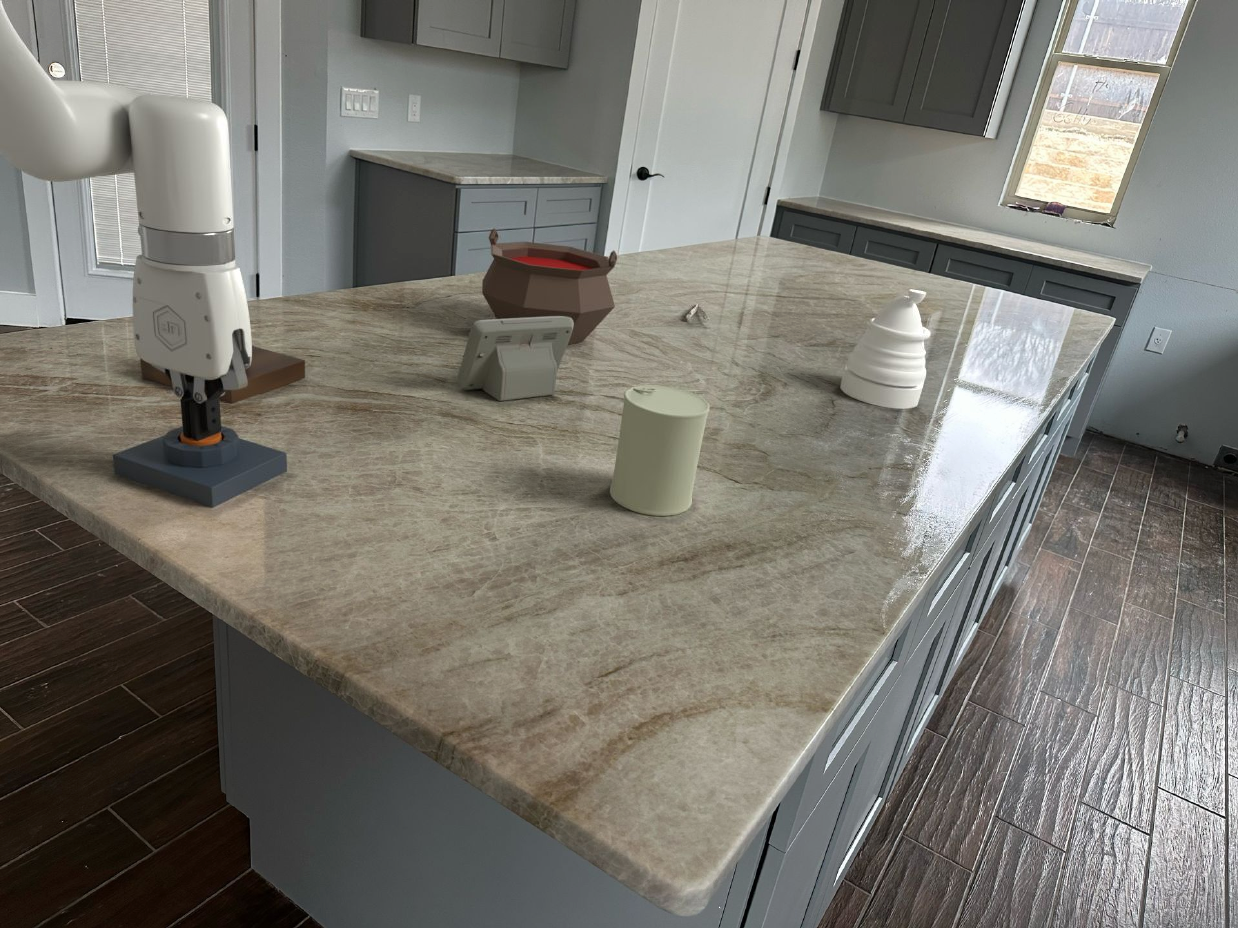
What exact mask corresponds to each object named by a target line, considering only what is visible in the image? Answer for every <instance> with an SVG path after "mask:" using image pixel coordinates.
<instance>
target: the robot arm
mask: <svg viewBox="0 0 1238 928" xmlns="http://www.w3.org/2000/svg"><path fill="white" fill-rule="evenodd" d="M230 149H231V148H230V133H229V121H228V118H227V115H226V113H225V112H224V110H223V109H222V108H221V107H220V106H219V105H217V104H216V103H213V102H211V101H209V100H208V101H207V100H204V99H201V98H200V99H199V98H194V97H186V96H179V95H170V94H169V95H168V94H151V93H147V92H143V91H141V90H136V89H133V88H129V87H126V86H123V85H119V84H114V83H109V82H104V81H103V82H101V81H82V80H68V79H67V80H65V79H64V80H61V79H57V80H56V79H52V78H51V77H50V76H49V74H48V73H47V72H46V71H45V70H44V68H43V67H42V65H41V64H40V63H39V62H38V60H37V58H35V56H34V55H33V54H32V52H31V51H30V50H29V48H28V47H27V46H26V44H25V43H24V41H23V40H22V38H21V37H20V35H19V34H18V32H17V30H16V29H15V28H14V26H13V24H12V22H11V20H10V18H9V17H8V14H7V13H6V10H5V7H4V5H3V2H2V0H0V156H2V157H3V158H4V159H5V160H6V161H7V162H8V163H10V165H12V166H14V167H15V168H16V169H18V170H19V171H21V172H23V173H24V174H26V175H28V176H30V177H33V178H35V179H38V180H41V181H47V182H52V183H53V182H54V183H57V182H58V183H62V182H63V183H64V182H72V181H79V180H84V179H91V178H98V177H109V176H116V175H117V176H118V175H123V174H133V176H134V188H135V197H136V207H137V219H138V227H137V233H138V235H139V239H140V248H141V249H140V250H141V254H139V255H137V256H136V258H135V264H134V268H133V269H134V270H133V279H132V329H133V340H134V341H133V342H134V347H135V352H136V355H137V356H138V358H139V359H142V360H144V361H146V362H148V363H150V364H151V365H152V366H153V367H155V368H157V369H158V370H160V371H162V372H164V373H166V375H167V376H168V377H169V379H170V380H171V382H172V385H173V387H172V389H173V393H174V395H175V396H176V397H177V398H179V400H180V412H181V423H182V424H181V425H182V426H183V435H184V436H185V437H187V438H191V437H192V438H193V439H194V440H197V441H199V440H202V439H205V438H207V437H210V436H212V435H215V434H217V433H220V431H221V426H222V418H221V417H222V416H221V415H222V414H221V401H220V399H219V397H221V396H223V395H224V394H225V391H226V390H238V389H241V388H243V387H246V386H247V385H248V380H247V376H246V372H245V369H247V368H249V367H250V364H251V359H252V346H253V342H252V328H251V320H250V319H251V318H250V311H249V306H248V305H249V304H248V298H247V294H246V289H245V284H244V280H243V276H242V272H241V269H240V266H238V265H236V246H235V228H234V226H235V225H234V209H233V208H234V206H233V190H232V189H233V187H232V171H231V169H232V167H231V153H230V152H231V150H230Z"/></svg>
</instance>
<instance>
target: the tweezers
mask: <svg viewBox="0 0 1238 928" xmlns="http://www.w3.org/2000/svg"><path fill="white" fill-rule="evenodd" d="M696 312H698V313H699V314H700V315H701V316H702V326H706V325H707V324H708V323H709V322H710V317H709V316H708V314H707V312H706V311H705V310H704V309H703V308H702V307H701V306H700V305H699V303H698V302H697V303H696V305H695V306H694V307H692V309H691V310H690V311H689V313H687V314H686V316H685V318H686V320H687V322H688V324H691V323H692V321H693V320H694V317H693V316H694V314H696Z"/></svg>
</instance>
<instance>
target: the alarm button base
mask: <svg viewBox="0 0 1238 928" xmlns="http://www.w3.org/2000/svg"><path fill="white" fill-rule="evenodd" d="M182 432H183V425H182V426H180V427H177V428H175V429H171V430H168V431H167V432H166V434H164V435H162V436H161V435H160V436H158V437H156V438H153V439H150V440H148V441H145V442H142V443H140V444H138V445H135V446H132V447H129V448H126V449H124V450H121V451H119V452H116V453H113V454H112V463H113V469H114V470H113V471H114V475H116V476H118V477H122V478H125V479H127V480H130V481H133V482H136V483H139V484H142V485H145V486H148V487H150V488H153V489H156V490H159V491H162V492H164V493H167V494H170V495H174V496H177V497H180V498H183V499H186V500H189V501H191V502H194V503H197V504H200V505H203V506H205V507H209V508H211V509H214V508H215V507H217V506H220V505H222V504H225V503H226V502H228V501H230V500H232V499H234V498H237V497H238V496H240V495H242V494H244V493H246V492H248V491H250V490H252V489H255V488H256V487H258V486H260V485H262V484H265V483H266V482H269V481H270V480H272V479H275V478H276V477H279V476H281V475H282V474H285V473H287V472H288V456H287V455H288V454H287V452H285V451H282V450H278V449H275V448H271V447H269V446H265V445H263V444H259V443H256V442H252V441H250V440H248V439H243V438H240V437H239V435H238V433H237V432H236V431H235V430H234V429H233V428H231V427H227V426H223V425H221V431H220V432H221V438H222V441H220V442H218V443H215V444H212V445H204V446H192V445H187V444H184V443H181V433H182Z"/></svg>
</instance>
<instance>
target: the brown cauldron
mask: <svg viewBox="0 0 1238 928" xmlns="http://www.w3.org/2000/svg"><path fill="white" fill-rule="evenodd" d="M498 240H499V233H498V231H497V230H496V228H495V227H494V228H493V229H491V231H490V232H489V235H488V241H489V243H490V255H491V256H492V258H493V260H492V262H491V263H490V266H489V268H488V269H487V271H486V273H485V275H484V277H483V278H482V284H481V285H482V286H481V294H482V296H483V297H484V300H485V301H486V303H487V304H488V307H489V308H490V309H491V312H492V314H493V315H494V317H495V319H509V318H529V317H548V316H565V317H570V318H572V320H573V322H574V326H573V330H572V333H571V336H570V339H569V342H568V344H567V346H570V345H575V344H579V343H583V342H584V341H585V340H586V339H587V338H588V337H589V336H590V334H591V333H592V332H593V331H594V330H595V329H596V328H597V327H598V326H599V325H600V324H601V323H602V322H603V321H604V319H605V318H607V316H608V315H609V314H610V313H611V312H612V311H613V310H614V309H615V308H616V305H615V301H614V298H613V295H612V291H611V287H610V283H609V280H608V276H607V275H608V274H609V273H610V272H611V271H612V270H613V269H614V268H615V267H616V264H617V261H618V256H617V252H616V251H615V250H612V251H611V252H610V254H609V257H608V256H606V255H603V254H600V253H599V254H598V253H595V252H591V251H588V250H584V249H580V248H578V247H573V246H569V245H560V244H551V243H541V242H540V243H539V242H535V241H534V242H533V241H524V240H523V241H510V242H498ZM497 242H498V243H497Z"/></svg>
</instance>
